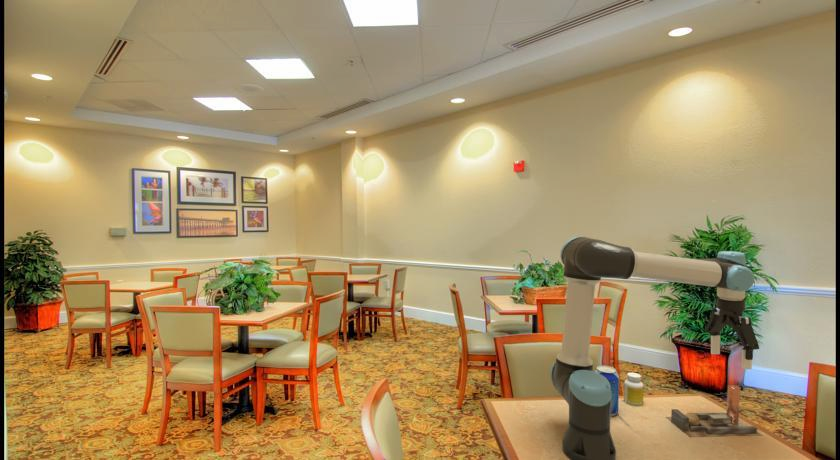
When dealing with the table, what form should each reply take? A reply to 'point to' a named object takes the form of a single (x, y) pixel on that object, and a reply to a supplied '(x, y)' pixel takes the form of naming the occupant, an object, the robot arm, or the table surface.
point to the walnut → (693, 419)
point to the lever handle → (729, 410)
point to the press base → (709, 426)
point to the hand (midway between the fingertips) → (730, 361)
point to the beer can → (614, 384)
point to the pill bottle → (633, 390)
